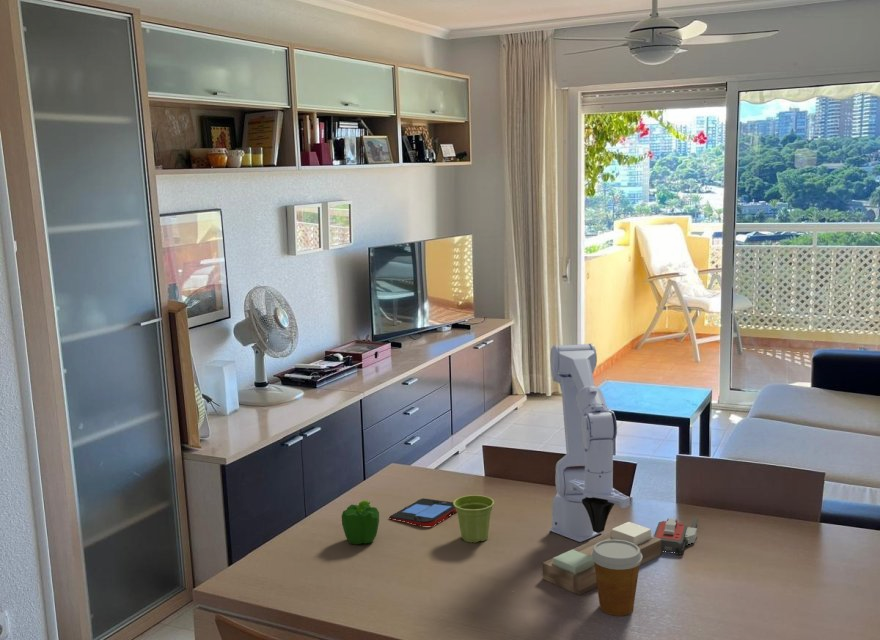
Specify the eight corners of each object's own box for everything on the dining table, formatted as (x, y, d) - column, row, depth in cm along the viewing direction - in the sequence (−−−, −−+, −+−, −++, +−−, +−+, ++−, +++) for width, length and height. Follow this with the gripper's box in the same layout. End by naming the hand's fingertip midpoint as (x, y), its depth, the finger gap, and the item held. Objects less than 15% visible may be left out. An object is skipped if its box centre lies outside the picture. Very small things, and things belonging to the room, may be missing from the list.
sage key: (553, 571, 176) (552, 558, 176) (572, 562, 180) (572, 549, 180) (575, 581, 172) (575, 567, 171) (594, 572, 176) (594, 558, 175)
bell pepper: (336, 540, 199) (333, 499, 198) (364, 530, 205) (363, 490, 203) (357, 551, 193) (355, 509, 191) (386, 541, 198) (384, 499, 197)
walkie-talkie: (691, 559, 185) (700, 524, 203) (691, 540, 184) (700, 506, 203) (650, 554, 188) (662, 520, 207) (650, 535, 188) (662, 502, 206)
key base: (542, 578, 177) (542, 562, 177) (624, 540, 195) (624, 526, 194) (580, 595, 170) (580, 578, 169) (661, 554, 187) (661, 539, 187)
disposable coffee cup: (585, 597, 169) (585, 540, 167) (633, 594, 170) (633, 537, 168) (598, 622, 159) (598, 561, 158) (648, 618, 160) (649, 557, 158)
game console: (421, 502, 223) (421, 494, 223) (462, 511, 216) (462, 503, 216) (387, 520, 212) (387, 512, 211) (429, 531, 204) (429, 522, 204)
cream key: (611, 542, 188) (611, 529, 188) (628, 534, 192) (628, 521, 192) (634, 550, 184) (634, 537, 183) (651, 542, 188) (651, 529, 187)
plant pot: (448, 543, 196) (447, 507, 195) (462, 527, 205) (461, 492, 203) (487, 548, 193) (486, 511, 191) (500, 532, 201) (499, 497, 200)
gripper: (559, 465, 181) (559, 526, 183) (614, 482, 170) (613, 547, 172) (581, 457, 185) (581, 517, 187) (636, 473, 174) (635, 537, 176)
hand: (598, 530), depth 180 cm, fingers closed
